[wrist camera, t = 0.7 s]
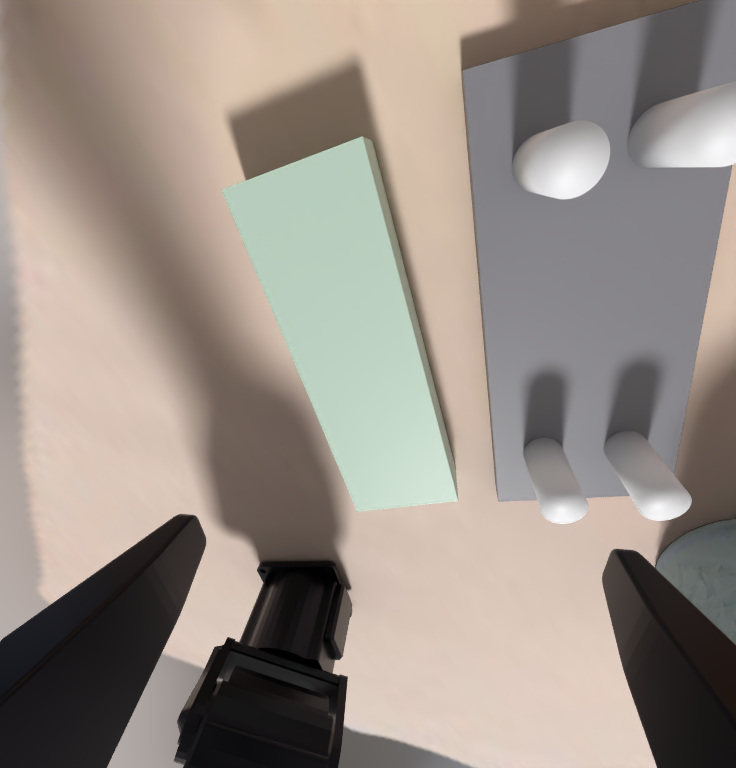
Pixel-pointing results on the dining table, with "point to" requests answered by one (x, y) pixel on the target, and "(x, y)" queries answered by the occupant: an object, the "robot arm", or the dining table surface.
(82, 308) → the dining table surface
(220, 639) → the dining table surface
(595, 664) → the dining table surface
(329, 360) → the plank
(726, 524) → the teal cylinder
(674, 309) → the peg stand
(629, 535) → the dining table surface
